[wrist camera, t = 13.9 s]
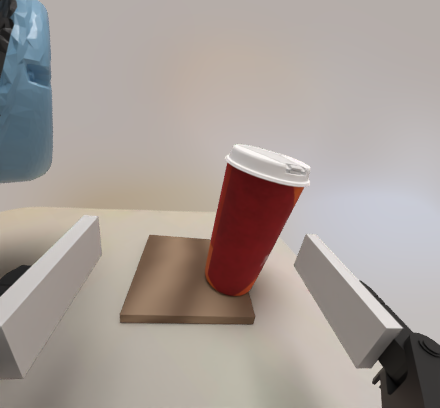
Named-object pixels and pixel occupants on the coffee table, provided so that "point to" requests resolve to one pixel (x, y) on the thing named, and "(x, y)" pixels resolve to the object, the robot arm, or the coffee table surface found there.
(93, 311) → the coffee table surface
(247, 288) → the paper cup
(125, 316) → the walnut pad
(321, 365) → the coffee table surface
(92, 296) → the coffee table surface
